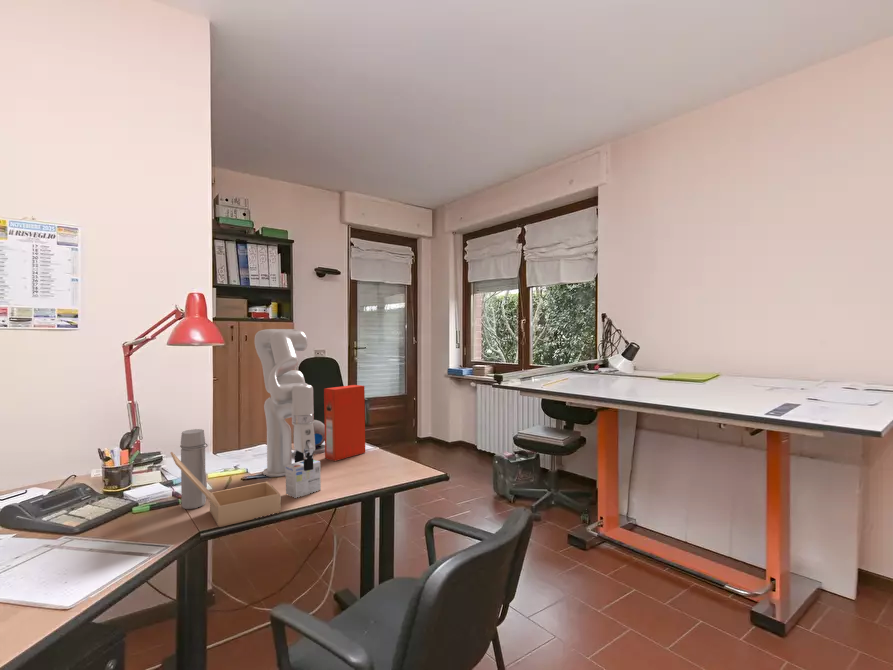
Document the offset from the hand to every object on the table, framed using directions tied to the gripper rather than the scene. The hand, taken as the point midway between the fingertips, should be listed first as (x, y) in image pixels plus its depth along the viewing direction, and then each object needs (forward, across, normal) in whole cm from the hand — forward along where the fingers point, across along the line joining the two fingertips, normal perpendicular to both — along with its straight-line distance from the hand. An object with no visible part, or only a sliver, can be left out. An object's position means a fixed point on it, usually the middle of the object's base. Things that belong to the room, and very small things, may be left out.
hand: (303, 467), depth 162 cm
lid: (-4, -5, +35) cm, 36 cm away
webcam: (+8, +54, -23) cm, 59 cm away
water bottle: (+9, +10, +33) cm, 36 cm away
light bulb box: (+10, +1, 0) cm, 10 cm away
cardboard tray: (+10, -5, +21) cm, 24 cm away
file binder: (+8, +37, -32) cm, 50 cm away
